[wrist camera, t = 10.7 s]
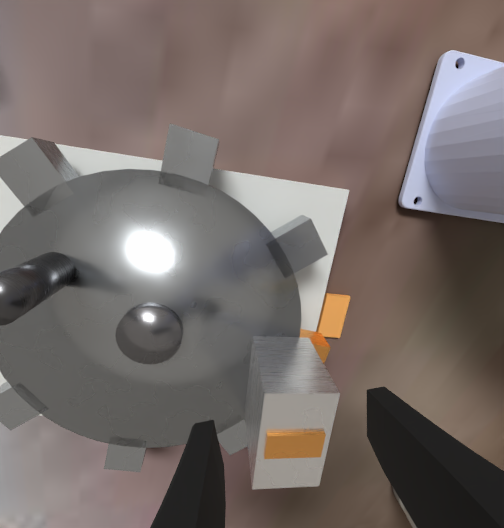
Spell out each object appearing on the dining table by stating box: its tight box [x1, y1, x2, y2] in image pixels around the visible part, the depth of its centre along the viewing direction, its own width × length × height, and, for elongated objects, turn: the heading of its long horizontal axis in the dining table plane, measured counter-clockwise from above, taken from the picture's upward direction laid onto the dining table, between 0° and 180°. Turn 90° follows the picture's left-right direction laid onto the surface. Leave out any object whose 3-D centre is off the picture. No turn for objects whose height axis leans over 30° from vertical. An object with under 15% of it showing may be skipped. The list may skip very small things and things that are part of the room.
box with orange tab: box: [244, 336, 340, 489], centre depth 13 cm, size 3×5×4 cm, turn 174°
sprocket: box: [0, 124, 331, 472], centre depth 12 cm, size 19×19×5 cm
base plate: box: [0, 135, 350, 416], centre depth 16 cm, size 22×16×2 cm
